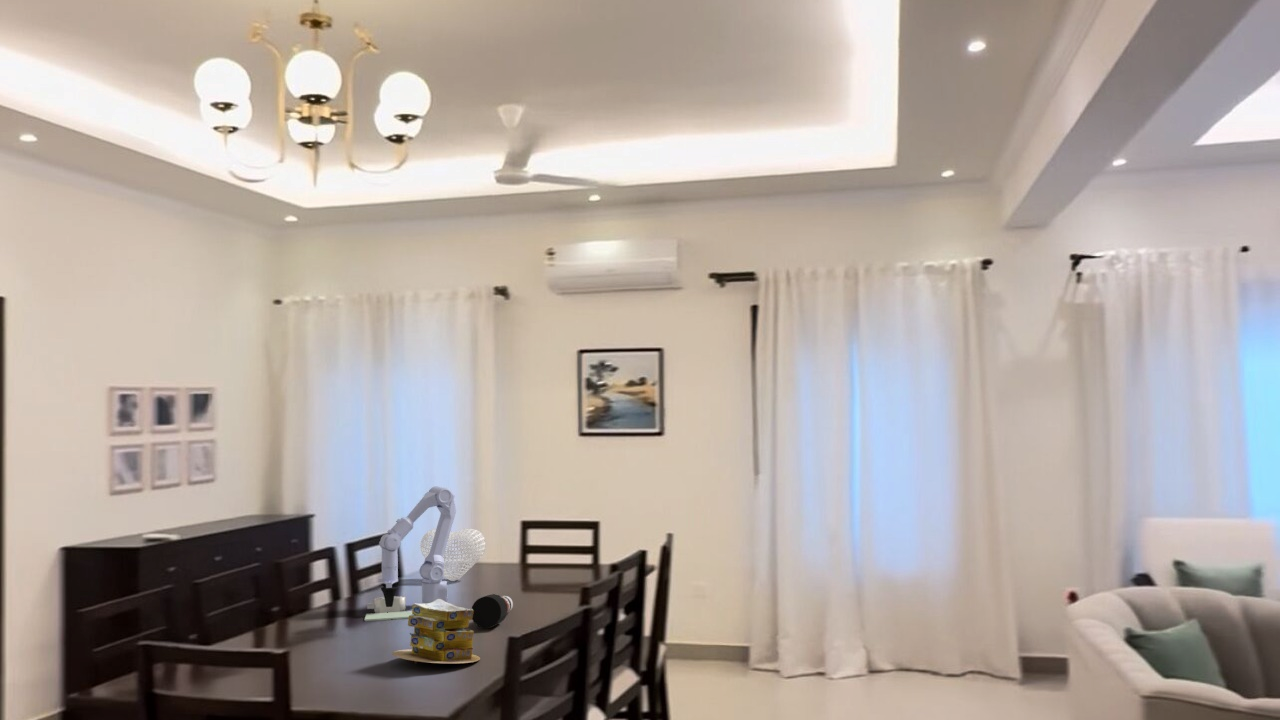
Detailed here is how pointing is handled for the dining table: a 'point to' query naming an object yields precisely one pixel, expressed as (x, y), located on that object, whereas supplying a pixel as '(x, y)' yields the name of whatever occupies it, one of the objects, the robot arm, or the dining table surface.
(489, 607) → the dark bottle
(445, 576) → the heart
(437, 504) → the robot arm
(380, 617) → the mat
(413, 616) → the stacked yellow boxes
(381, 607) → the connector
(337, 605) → the dining table surface
